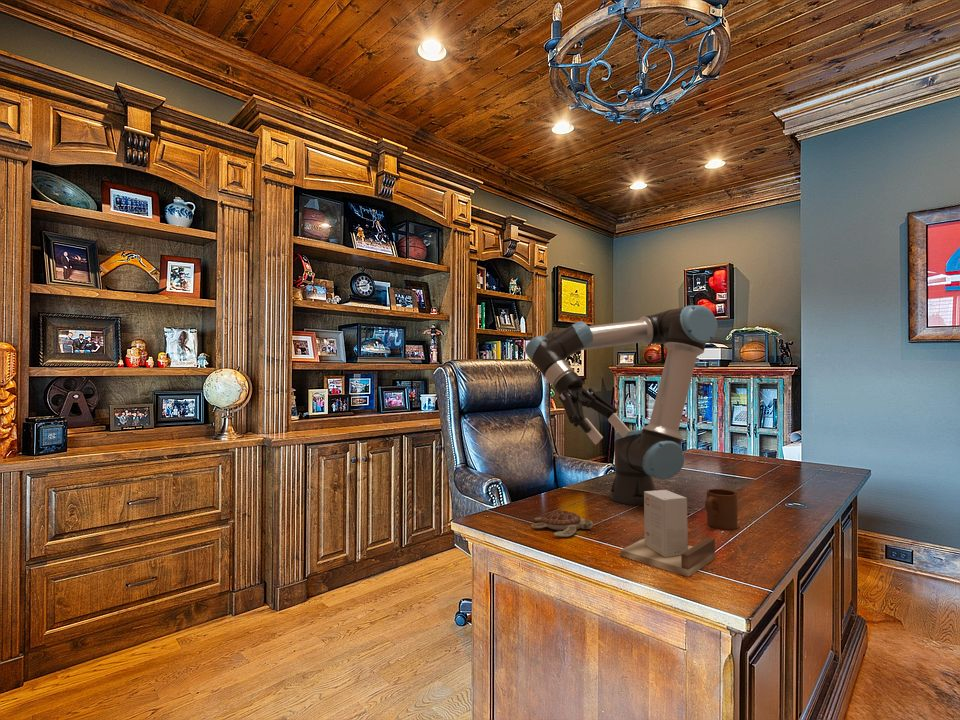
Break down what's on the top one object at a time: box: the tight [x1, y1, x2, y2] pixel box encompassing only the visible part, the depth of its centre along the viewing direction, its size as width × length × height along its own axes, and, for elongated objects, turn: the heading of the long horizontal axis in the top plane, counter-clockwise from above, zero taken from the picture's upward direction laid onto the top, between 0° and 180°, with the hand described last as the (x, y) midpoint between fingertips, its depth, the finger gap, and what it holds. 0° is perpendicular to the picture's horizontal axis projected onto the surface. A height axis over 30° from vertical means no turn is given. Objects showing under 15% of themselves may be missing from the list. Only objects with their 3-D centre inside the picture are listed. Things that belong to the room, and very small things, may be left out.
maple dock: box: [620, 537, 716, 578], centre depth 116 cm, size 16×14×4 cm
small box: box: [643, 489, 689, 557], centre depth 117 cm, size 8×6×13 cm
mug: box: [704, 488, 738, 531], centre depth 137 cm, size 12×8×9 cm, turn 129°
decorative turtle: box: [531, 510, 594, 538], centre depth 138 cm, size 18×17×5 cm
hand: (613, 437), depth 130 cm, fingers open, 13 cm apart
